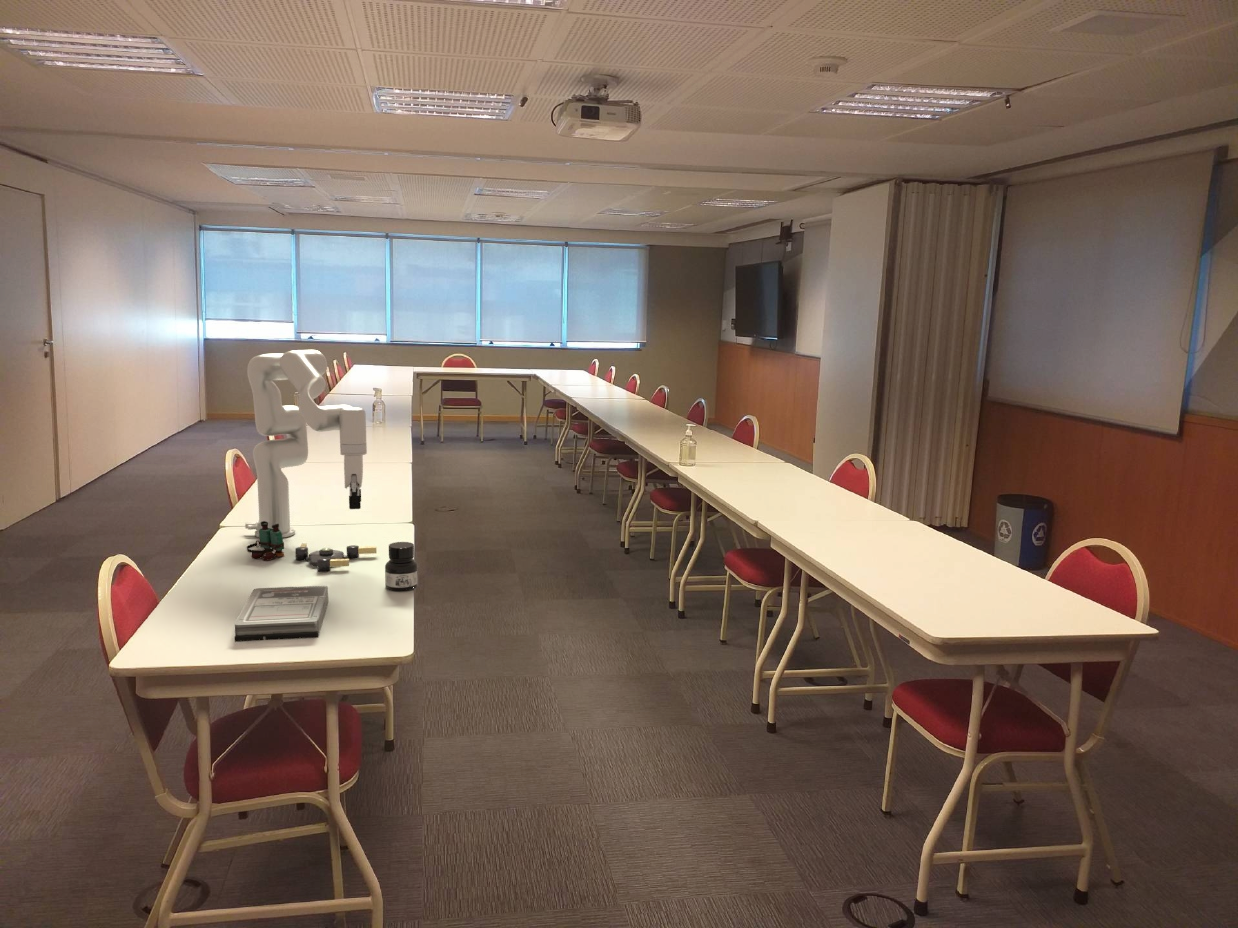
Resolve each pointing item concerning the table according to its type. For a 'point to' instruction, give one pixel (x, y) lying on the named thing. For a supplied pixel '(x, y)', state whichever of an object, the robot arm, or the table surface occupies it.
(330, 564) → the knob
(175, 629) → the table surface
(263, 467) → the robot arm
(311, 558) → the tribrach plate
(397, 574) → the ink bottle
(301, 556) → the knob
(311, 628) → the hard drive
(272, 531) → the binoculars
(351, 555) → the knob
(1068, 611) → the table surface
